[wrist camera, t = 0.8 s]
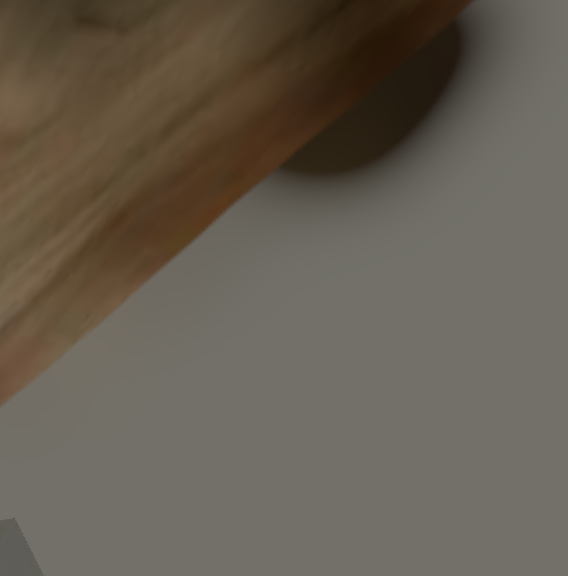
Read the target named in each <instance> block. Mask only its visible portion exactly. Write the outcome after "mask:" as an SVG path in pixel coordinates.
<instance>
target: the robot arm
mask: <svg viewBox="0 0 568 576" xmlns="http://www.w3.org/2000/svg"><path fill="white" fill-rule="evenodd" d="M0 576H44V575H43V573H42V571H41V569H40V567H39V565H38V563H37V561H36V559H35V557H34V555H33V553H32V551H31V549H30V547H29V545H28V543H27V541H26V539H25V537H24V536H23V533H22V531H21V529H20V527H19V526H18V523H17V521H16V520H15V518H12V519H6V520H2V521H0Z"/></svg>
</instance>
